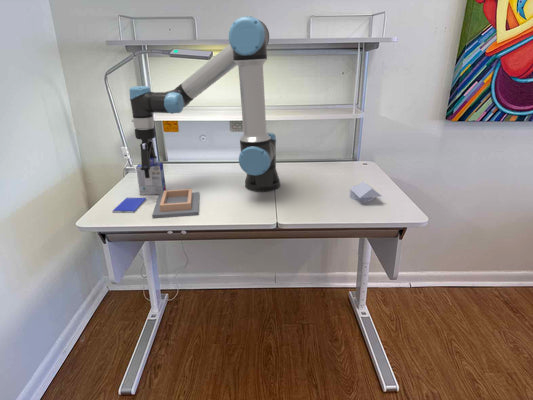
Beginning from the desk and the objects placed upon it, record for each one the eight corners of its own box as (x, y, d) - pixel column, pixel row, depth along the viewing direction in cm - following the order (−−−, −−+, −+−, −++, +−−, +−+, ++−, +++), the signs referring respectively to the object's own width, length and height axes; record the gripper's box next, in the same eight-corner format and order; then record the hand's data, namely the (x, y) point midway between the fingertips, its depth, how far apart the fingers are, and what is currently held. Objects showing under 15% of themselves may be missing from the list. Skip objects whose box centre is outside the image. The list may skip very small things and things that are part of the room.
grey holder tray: (199, 194, 148) (198, 186, 147) (198, 214, 130) (197, 205, 129) (159, 197, 146) (158, 188, 145) (152, 218, 128) (151, 208, 127)
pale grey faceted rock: (381, 204, 137) (367, 192, 149) (383, 187, 135) (369, 176, 147) (358, 206, 136) (346, 193, 148) (360, 189, 134) (347, 178, 145)
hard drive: (125, 197, 144) (112, 210, 132) (146, 197, 143) (134, 210, 132) (126, 201, 144) (112, 214, 133) (146, 201, 144) (134, 214, 133)
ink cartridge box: (166, 189, 154) (162, 156, 149) (164, 194, 149) (159, 160, 144) (143, 190, 154) (138, 157, 148) (139, 195, 149) (134, 161, 143)
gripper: (139, 122, 152) (146, 170, 160) (128, 135, 129) (136, 190, 137) (158, 121, 153) (163, 169, 161) (150, 134, 130) (156, 189, 138)
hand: (151, 179), depth 149 cm, fingers open, 13 cm apart
